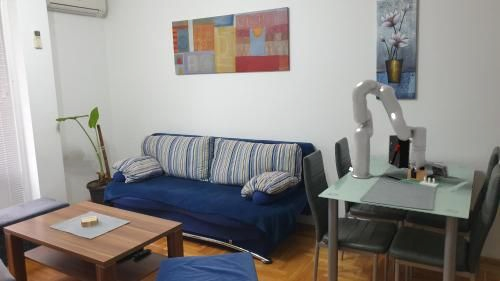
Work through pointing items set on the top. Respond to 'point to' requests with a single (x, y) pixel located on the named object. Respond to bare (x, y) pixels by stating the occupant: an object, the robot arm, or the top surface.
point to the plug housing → (418, 175)
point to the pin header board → (426, 182)
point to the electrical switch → (440, 169)
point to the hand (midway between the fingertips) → (417, 176)
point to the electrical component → (399, 152)
